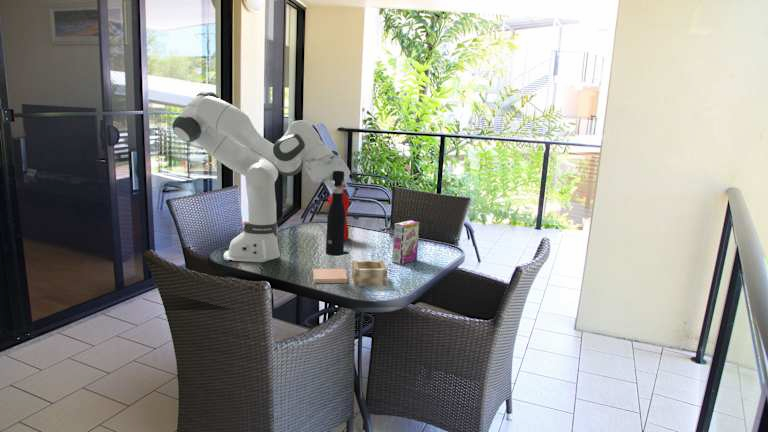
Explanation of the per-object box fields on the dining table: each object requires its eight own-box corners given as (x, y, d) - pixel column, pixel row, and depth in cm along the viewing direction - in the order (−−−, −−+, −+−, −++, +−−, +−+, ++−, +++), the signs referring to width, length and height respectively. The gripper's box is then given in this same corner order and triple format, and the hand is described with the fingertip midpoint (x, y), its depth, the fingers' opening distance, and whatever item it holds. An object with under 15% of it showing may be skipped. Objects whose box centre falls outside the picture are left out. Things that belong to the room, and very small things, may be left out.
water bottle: (322, 237, 272) (323, 184, 267) (345, 236, 276) (346, 184, 271) (326, 241, 264) (327, 187, 259) (349, 241, 267) (351, 187, 262)
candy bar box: (401, 265, 232) (403, 225, 229) (391, 262, 235) (393, 223, 232) (417, 260, 241) (420, 221, 237) (408, 257, 244) (410, 219, 240)
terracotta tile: (313, 283, 206) (313, 279, 206) (313, 272, 218) (313, 269, 217) (347, 282, 208) (347, 278, 208) (344, 272, 219) (344, 268, 219)
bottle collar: (354, 286, 205) (355, 269, 203) (351, 276, 216) (352, 260, 214) (386, 285, 206) (387, 269, 205) (382, 275, 217) (382, 260, 216)
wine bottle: (343, 251, 213) (348, 171, 208) (343, 256, 207) (347, 173, 201) (326, 251, 213) (330, 169, 207) (325, 255, 207) (329, 171, 201)
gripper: (307, 154, 198) (329, 186, 196) (341, 151, 216) (361, 181, 213) (296, 165, 201) (317, 197, 199) (330, 162, 219) (350, 191, 216)
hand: (340, 188), depth 206 cm, fingers open, 5 cm apart
